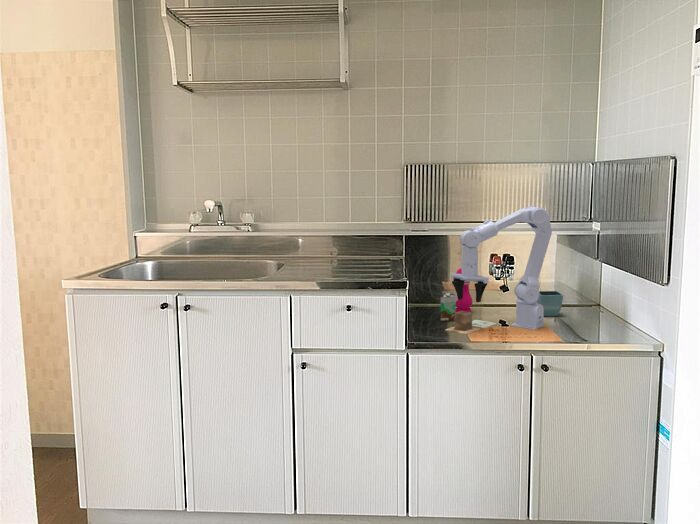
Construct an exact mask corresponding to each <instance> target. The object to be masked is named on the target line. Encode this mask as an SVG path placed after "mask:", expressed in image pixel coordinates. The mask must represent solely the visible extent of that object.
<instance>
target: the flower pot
mask: <svg viewBox="0 0 700 524" xmlns="http://www.w3.org/2000/svg"><path fill="white" fill-rule="evenodd" d="M539 293H540V296H539V299H538V300H537V303H538V304H541V305H543V308H544V317H557V316H558V315H559V313H560V311H561V310H562V307H563V306H562V305H563V299H564V294H562V293H561V292H559V291H558V290H539Z"/></svg>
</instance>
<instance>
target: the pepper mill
mask: <svg viewBox="0 0 700 524" xmlns="http://www.w3.org/2000/svg"><path fill="white" fill-rule="evenodd" d="M455 274H462V267H460V268H459V269H457V270H456V273H455ZM470 284H471V281H464V286H463V299H460V300H457V301H456V307H455V313H456V312H459V311H466V312H472V308H471V307H472V305H473V298H472V296H471V293H470V288H469V286H470ZM457 299H458V296H457Z"/></svg>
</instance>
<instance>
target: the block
mask: <svg viewBox="0 0 700 524" xmlns="http://www.w3.org/2000/svg"><path fill="white" fill-rule="evenodd" d="M472 321H473V312H472V311H471V312H466V311H459V312H455V318H454V326H453V327H454V329H456V330H461V331H467V330H470V329H472V327H473V326H472Z"/></svg>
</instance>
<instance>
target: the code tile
mask: <svg viewBox="0 0 700 524" xmlns="http://www.w3.org/2000/svg"><path fill="white" fill-rule="evenodd" d="M493 325H497V323H496V322H491V321H486V320H480V319H473V320H472V327H475V328H480V329H482V328H483V329H486V328H489V327H491V326H493Z"/></svg>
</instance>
